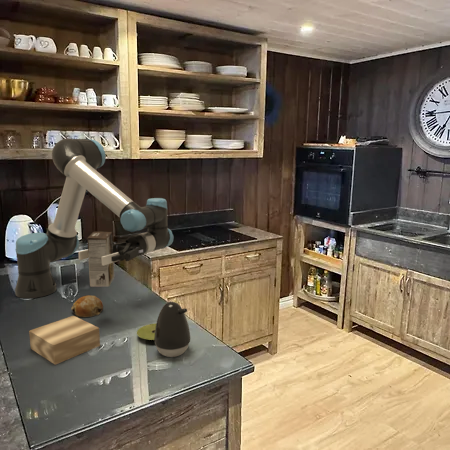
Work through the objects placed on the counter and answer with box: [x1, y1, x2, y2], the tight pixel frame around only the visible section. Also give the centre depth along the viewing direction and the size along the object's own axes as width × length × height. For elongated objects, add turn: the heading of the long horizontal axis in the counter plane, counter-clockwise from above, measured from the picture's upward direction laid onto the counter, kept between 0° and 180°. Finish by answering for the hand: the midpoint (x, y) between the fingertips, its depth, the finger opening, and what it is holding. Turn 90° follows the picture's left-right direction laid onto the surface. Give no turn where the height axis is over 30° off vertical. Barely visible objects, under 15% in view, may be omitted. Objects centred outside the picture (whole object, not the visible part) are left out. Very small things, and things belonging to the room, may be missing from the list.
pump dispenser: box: [153, 301, 191, 358], centre depth 116 cm, size 10×10×15 cm
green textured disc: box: [136, 322, 157, 341], centre depth 127 cm, size 11×11×2 cm
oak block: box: [28, 315, 101, 366], centre depth 120 cm, size 14×14×6 cm
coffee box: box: [86, 231, 115, 288], centre depth 133 cm, size 9×6×16 cm
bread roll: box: [71, 295, 104, 318], centre depth 145 cm, size 10×10×8 cm
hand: (90, 258), depth 129 cm, fingers closed on coffee box, 10 cm apart
